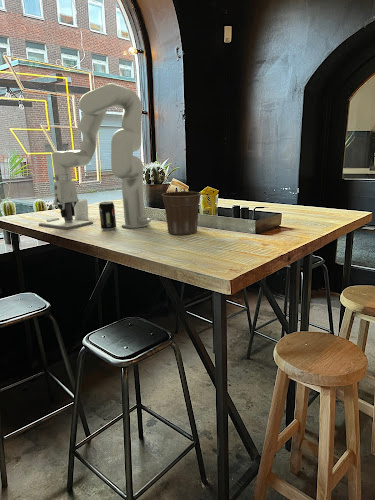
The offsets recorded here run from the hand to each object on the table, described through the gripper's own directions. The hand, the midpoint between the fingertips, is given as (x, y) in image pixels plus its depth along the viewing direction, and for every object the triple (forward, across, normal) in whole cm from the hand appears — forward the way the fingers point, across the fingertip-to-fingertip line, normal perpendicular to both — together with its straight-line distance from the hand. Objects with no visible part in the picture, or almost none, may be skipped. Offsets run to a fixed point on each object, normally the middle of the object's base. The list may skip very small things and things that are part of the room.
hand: (68, 216), depth 179 cm
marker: (+3, 0, 0) cm, 3 cm away
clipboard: (+4, -1, +1) cm, 4 cm away
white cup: (+4, +12, +6) cm, 14 cm away
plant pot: (+4, +11, -60) cm, 62 cm away
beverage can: (+4, +1, -27) cm, 27 cm away
